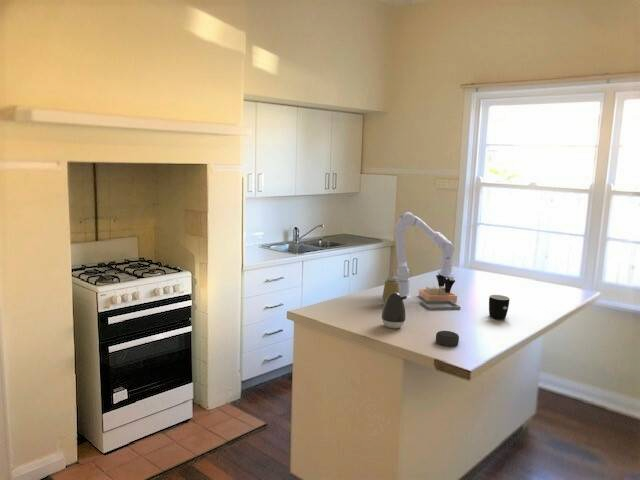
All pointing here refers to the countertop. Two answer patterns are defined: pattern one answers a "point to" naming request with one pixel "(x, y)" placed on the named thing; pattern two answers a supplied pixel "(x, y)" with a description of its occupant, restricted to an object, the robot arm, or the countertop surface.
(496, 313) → the mug
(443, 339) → the smart speaker
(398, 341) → the countertop surface
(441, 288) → the stone right
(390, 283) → the squeeze bottle
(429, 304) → the stone tray
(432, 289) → the block
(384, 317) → the pump dispenser
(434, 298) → the bin
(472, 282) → the countertop surface
